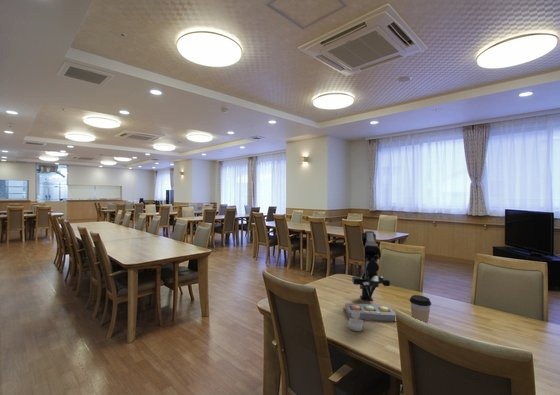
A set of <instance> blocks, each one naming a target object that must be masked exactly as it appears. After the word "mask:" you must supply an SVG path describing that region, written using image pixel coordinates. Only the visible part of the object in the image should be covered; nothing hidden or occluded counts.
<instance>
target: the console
mask: <svg viewBox="0 0 560 395" xmlns="http://www.w3.org/2000/svg"><path fill="white" fill-rule="evenodd" d="M352 305H358V306H359V307H360V310H356V311H360V317H359V318H358V319H359V320H365V321H366V320H367V321H383V322H385V321H387V322H396V321H395V313H396V312H395V311H394V309H392V307H391V306H390V305H389V304H370V303H369V304H367V303H354V302H353V303H351V302H345V303H344V309H345V313H346V315H347V318H348V319H350V318H353V317H351V313H352V310H351V306H352ZM366 306H372V307H374V311H366V310H365V307H366ZM382 306H383V307H387V308H389V312H380V307H382Z"/></svg>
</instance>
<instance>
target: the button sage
mask: <svg viewBox="0 0 560 395" xmlns="http://www.w3.org/2000/svg"><path fill="white" fill-rule="evenodd" d="M365 310H366V311H374V307H372V306H366V307H365Z"/></svg>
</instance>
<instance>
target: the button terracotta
mask: <svg viewBox="0 0 560 395" xmlns="http://www.w3.org/2000/svg"><path fill="white" fill-rule="evenodd" d="M351 310H360V307H359V306H358V305H352V306H351Z"/></svg>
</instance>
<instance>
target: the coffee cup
mask: <svg viewBox="0 0 560 395" xmlns="http://www.w3.org/2000/svg"><path fill="white" fill-rule="evenodd" d="M408 301H409V302H410V309H411V311H410V312H411V318H412V317H413V318H415V319H418V320H420V321H423V322H425V323H427V324H428V322H429V318H430V310H431V306H432V302H431V300H430V298H429V297H427V296H424V295H421V294H414V295H411V297H409V300H408Z"/></svg>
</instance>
